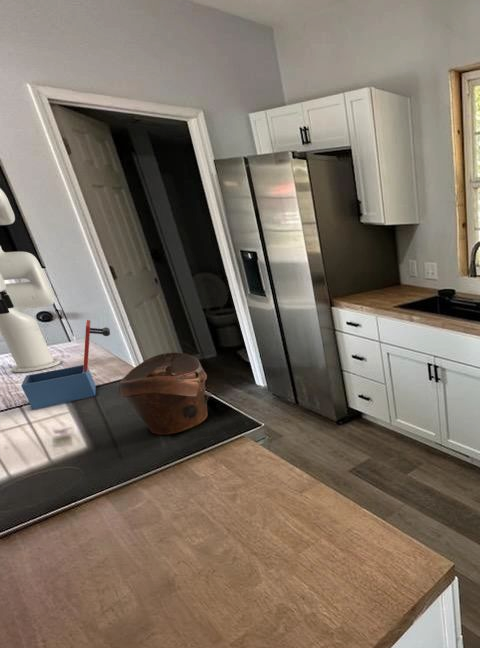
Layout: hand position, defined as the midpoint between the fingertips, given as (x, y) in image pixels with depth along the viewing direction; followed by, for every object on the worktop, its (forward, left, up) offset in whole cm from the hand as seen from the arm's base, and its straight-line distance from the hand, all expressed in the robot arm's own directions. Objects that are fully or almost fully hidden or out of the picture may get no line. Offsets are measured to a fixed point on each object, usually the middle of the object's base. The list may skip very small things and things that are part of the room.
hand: (4, 311), depth 122 cm
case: (+57, +29, -28) cm, 70 cm away
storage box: (+7, +5, -28) cm, 29 cm away
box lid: (+7, +14, -12) cm, 20 cm away
